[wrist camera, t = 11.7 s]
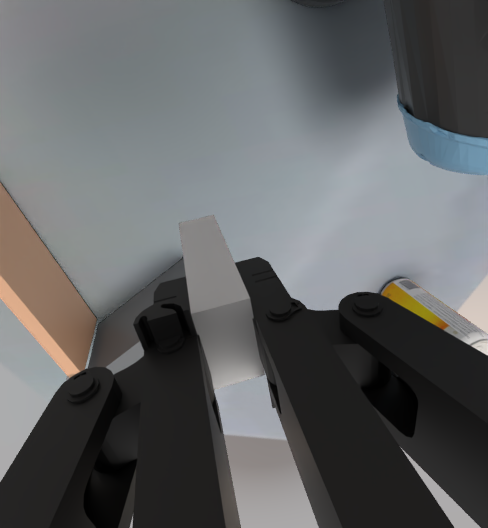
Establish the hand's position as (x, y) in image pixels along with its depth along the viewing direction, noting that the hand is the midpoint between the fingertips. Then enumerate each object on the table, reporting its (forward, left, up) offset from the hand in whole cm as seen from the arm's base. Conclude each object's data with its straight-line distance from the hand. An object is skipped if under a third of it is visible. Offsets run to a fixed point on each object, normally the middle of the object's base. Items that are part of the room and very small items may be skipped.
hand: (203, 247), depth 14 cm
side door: (+8, -16, -24) cm, 30 cm away
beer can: (+24, +30, -24) cm, 45 cm away
